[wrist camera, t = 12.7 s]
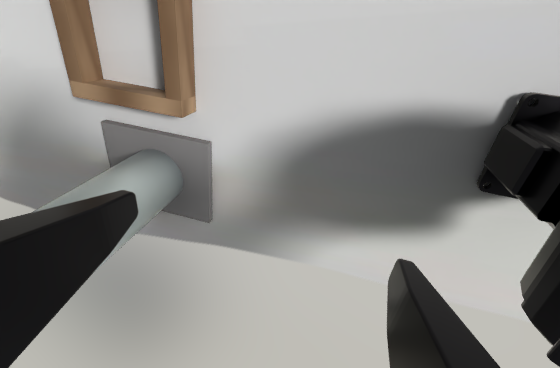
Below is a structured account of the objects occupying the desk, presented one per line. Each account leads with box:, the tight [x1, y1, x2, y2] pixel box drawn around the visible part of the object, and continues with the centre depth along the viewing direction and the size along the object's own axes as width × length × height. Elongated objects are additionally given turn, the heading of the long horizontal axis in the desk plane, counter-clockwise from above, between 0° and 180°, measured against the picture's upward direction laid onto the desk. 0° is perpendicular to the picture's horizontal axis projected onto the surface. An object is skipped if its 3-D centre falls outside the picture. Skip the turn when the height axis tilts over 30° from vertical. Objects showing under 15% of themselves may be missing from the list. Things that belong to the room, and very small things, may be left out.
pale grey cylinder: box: [33, 149, 183, 273], centre depth 20 cm, size 5×5×13 cm
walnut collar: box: [49, 0, 196, 118], centre depth 20 cm, size 9×9×2 cm
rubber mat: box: [101, 120, 212, 223], centre depth 26 cm, size 10×8×1 cm
